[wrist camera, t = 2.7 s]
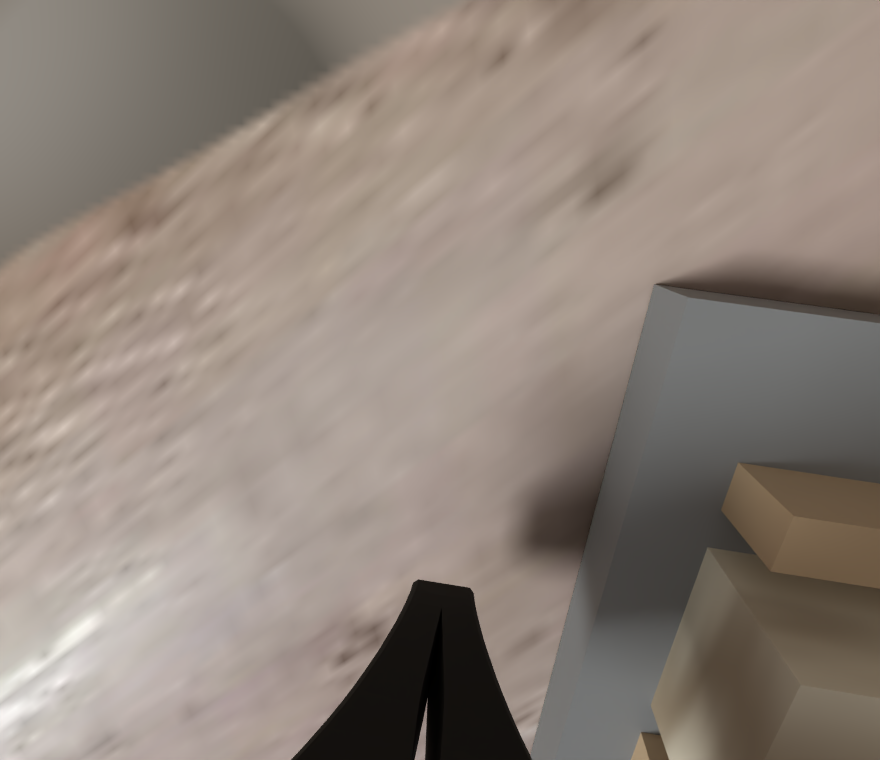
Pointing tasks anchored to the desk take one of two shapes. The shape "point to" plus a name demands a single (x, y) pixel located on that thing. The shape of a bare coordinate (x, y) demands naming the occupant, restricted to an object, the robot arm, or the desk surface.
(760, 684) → the wooden block
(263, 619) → the desk surface
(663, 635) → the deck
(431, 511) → the desk surface
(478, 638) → the robot arm
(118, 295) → the desk surface
